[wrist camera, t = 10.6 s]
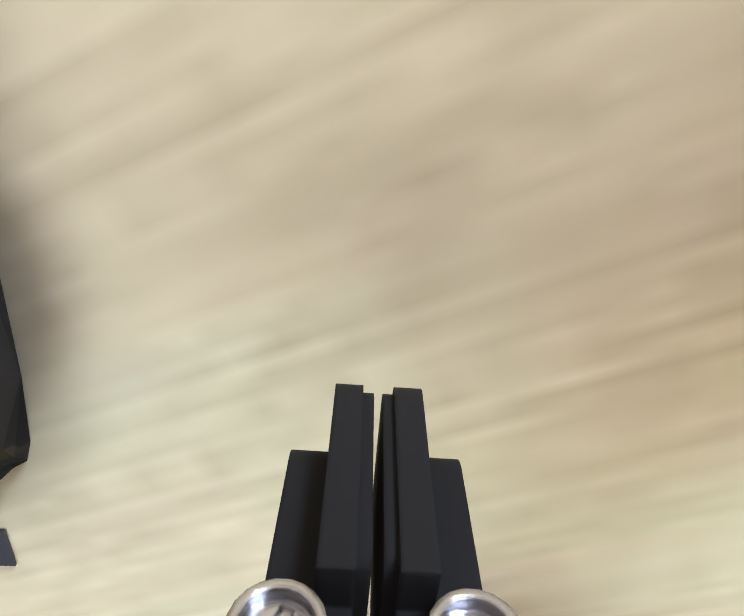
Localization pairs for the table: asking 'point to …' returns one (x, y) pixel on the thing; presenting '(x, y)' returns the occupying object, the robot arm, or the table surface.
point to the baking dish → (11, 400)
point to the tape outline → (6, 551)
